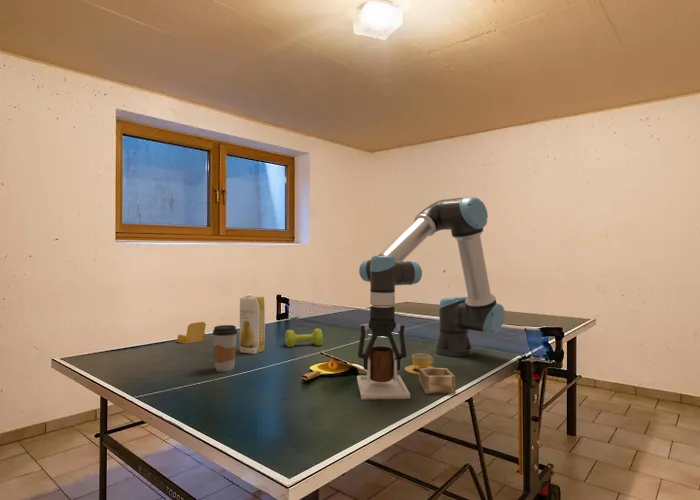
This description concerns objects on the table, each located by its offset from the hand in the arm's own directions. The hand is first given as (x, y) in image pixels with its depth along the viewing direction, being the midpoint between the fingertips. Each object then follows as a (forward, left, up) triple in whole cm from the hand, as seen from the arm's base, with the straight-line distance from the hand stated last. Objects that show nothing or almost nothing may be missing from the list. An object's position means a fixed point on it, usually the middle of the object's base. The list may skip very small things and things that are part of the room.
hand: (381, 380), depth 131 cm
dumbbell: (+27, -60, -3) cm, 66 cm away
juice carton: (+48, -49, -3) cm, 69 cm away
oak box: (-17, 0, -3) cm, 17 cm away
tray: (0, 0, -3) cm, 3 cm away
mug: (0, 0, -1) cm, 1 cm away
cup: (-17, -20, -3) cm, 27 cm away
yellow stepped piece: (+79, -71, -3) cm, 106 cm away
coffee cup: (+53, -23, -3) cm, 58 cm away
